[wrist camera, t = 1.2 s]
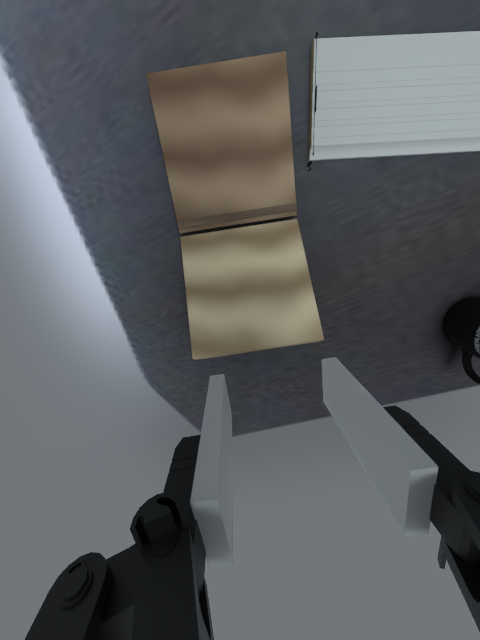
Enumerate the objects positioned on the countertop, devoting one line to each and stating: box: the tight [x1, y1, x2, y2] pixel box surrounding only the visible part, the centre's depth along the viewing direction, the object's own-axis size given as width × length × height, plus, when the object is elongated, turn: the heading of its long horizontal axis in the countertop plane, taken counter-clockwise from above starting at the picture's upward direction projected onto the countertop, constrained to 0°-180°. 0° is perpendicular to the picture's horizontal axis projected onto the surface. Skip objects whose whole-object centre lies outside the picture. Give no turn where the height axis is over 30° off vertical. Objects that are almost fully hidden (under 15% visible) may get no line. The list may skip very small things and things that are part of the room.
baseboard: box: [308, 31, 480, 171], centre depth 26 cm, size 31×3×12 cm
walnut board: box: [146, 51, 297, 234], centre depth 26 cm, size 15×14×2 cm
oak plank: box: [180, 219, 324, 360], centre depth 27 cm, size 14×14×2 cm
